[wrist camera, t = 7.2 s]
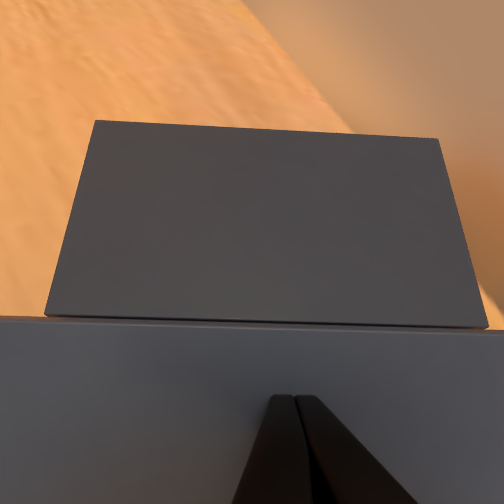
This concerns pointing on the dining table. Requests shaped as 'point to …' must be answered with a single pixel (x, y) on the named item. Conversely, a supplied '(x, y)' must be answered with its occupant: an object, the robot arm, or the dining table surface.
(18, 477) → the flap
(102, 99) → the dining table surface
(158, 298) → the carton
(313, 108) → the dining table surface
